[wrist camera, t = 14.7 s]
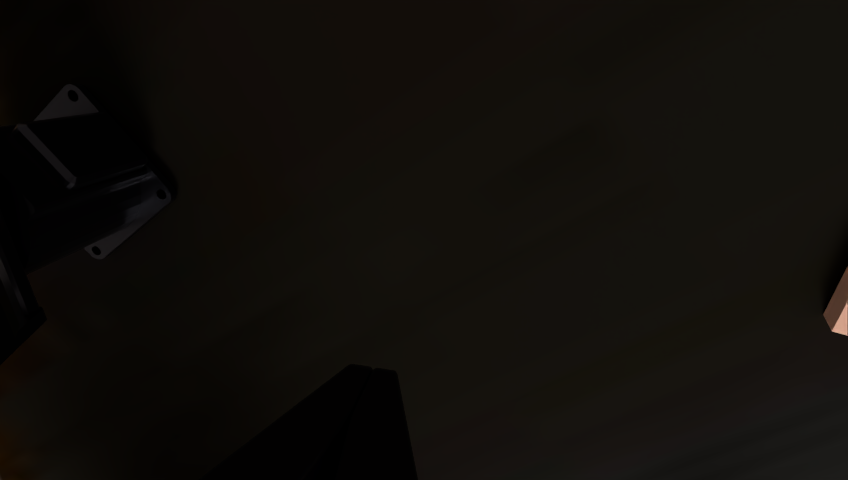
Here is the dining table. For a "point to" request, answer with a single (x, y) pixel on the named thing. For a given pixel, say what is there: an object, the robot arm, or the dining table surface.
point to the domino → (839, 307)
